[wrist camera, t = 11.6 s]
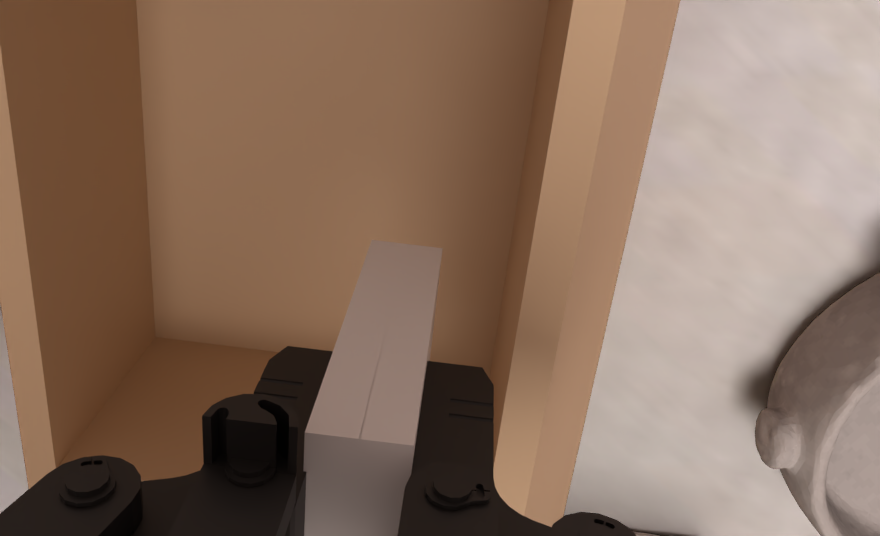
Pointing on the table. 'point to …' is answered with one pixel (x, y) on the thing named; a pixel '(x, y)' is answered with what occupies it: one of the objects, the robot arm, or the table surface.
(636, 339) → the table surface
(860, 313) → the dish
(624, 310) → the table surface
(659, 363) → the table surface
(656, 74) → the flap
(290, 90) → the carton
